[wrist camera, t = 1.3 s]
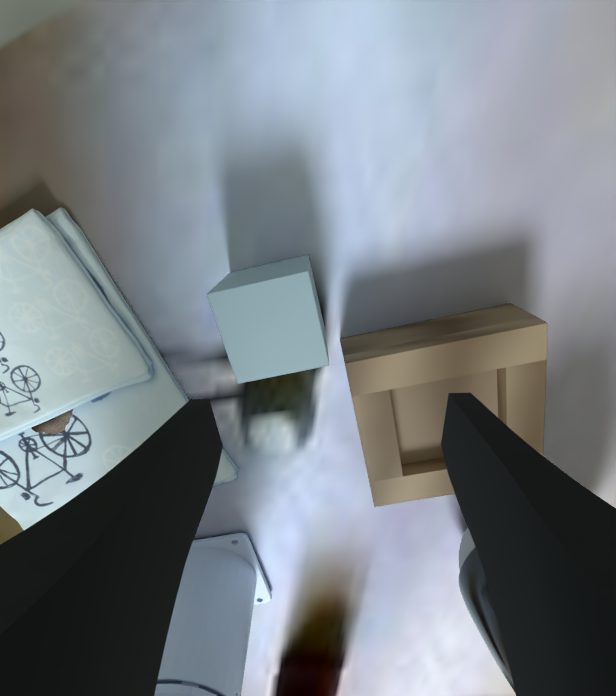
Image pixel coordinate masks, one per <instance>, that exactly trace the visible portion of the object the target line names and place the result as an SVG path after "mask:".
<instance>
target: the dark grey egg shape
mask: <svg viewBox="0 0 616 696" xmlns="http://www.w3.org/2000/svg"><path fill="white" fill-rule="evenodd" d="M459 568H460V574H459V587H460V591H461V594H462V597H463V599H464V602H465V604H466V607H467V609H468V611H469V613H470V615H471V617H472V619H473V621H474V623H475V625H476V627H477V629H478V631H479V632H480V634H481V636H482V638H483V640H484V642H485V643H486V645H487V647H488V649H489V651H490V652H491V654H492V656H493V658H494V659H495V661H496V663H497V665H498V666H499V668H500V670H501V671H502V673H503V674H504V676H505V678H506V679H507V681H508V682H509V684H510V686H511V687H512V689H513V690H514V692H515V688H514V684H513V680H512V676H511V671H510V667H509V663H508V659H507V655H506V651H505V647H504V643H503V640H502V636H501V632H500V628H499V624H498V621H497V617H496V613H495V609H494V606H493V602H492V598H491V595H490V591H489V588H488V584H487V580H486V577H485V573H484V570H483V567H482V564H481V561H480V558H479V555H478V552H477V549H476V547H475V544H474V542H473V539H472V536H471V534H470V531H469V529H468V527H467V529H466V531H465V533H464V535H463V537H462V540H461V544H460V550H459ZM515 693H516V692H515Z"/></svg>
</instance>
